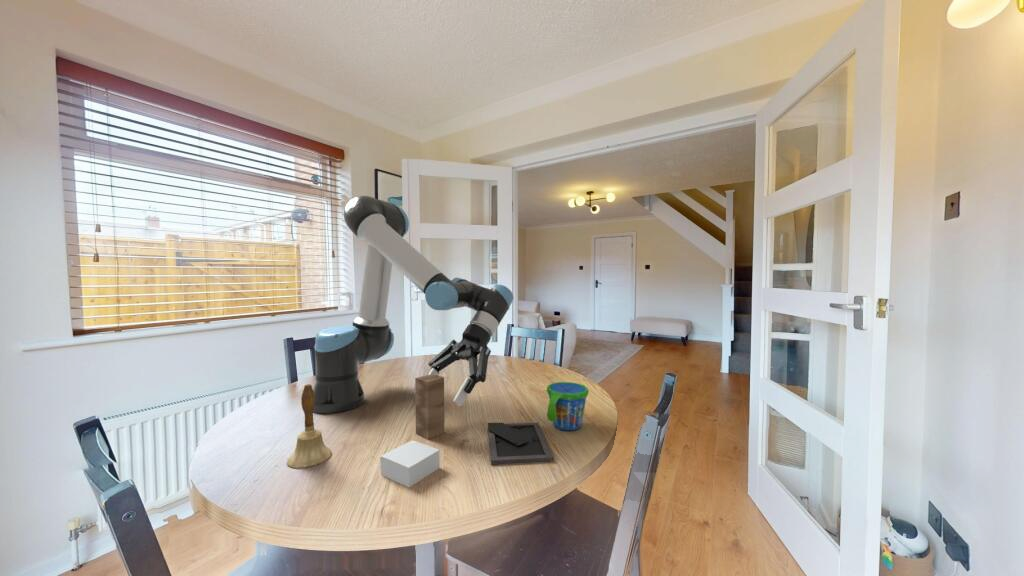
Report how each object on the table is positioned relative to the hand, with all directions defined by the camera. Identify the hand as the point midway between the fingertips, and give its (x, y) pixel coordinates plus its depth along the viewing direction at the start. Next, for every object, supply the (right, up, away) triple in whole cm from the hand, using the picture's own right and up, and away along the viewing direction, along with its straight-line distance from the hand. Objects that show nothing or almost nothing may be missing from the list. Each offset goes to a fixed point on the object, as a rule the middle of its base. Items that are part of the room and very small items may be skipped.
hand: (438, 397), depth 87 cm
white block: (-2, -10, -18) cm, 20 cm away
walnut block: (-2, -9, 0) cm, 9 cm away
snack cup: (+33, -9, +4) cm, 35 cm away
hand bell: (-25, -9, -13) cm, 29 cm away
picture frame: (+20, -10, -6) cm, 23 cm away
